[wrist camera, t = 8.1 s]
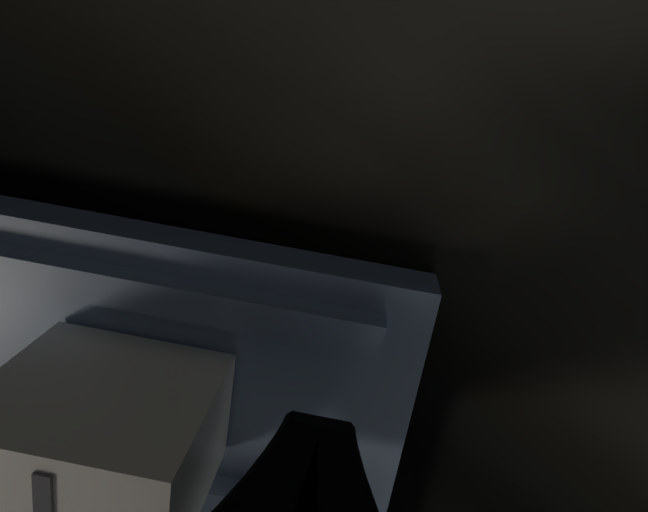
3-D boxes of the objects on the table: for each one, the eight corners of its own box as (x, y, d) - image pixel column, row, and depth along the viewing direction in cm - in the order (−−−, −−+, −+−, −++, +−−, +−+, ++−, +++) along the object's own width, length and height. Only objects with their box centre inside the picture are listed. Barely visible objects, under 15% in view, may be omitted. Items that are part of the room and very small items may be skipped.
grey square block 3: (225, 450, 12) (161, 609, 9) (61, 418, 13) (-70, 559, 9) (236, 354, 11) (169, 486, 8) (59, 321, 12) (-87, 435, 8)
